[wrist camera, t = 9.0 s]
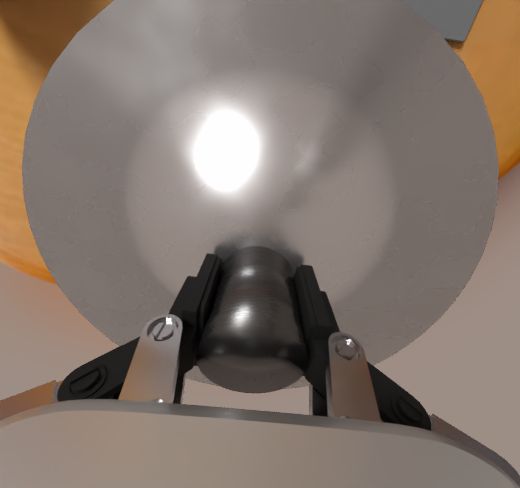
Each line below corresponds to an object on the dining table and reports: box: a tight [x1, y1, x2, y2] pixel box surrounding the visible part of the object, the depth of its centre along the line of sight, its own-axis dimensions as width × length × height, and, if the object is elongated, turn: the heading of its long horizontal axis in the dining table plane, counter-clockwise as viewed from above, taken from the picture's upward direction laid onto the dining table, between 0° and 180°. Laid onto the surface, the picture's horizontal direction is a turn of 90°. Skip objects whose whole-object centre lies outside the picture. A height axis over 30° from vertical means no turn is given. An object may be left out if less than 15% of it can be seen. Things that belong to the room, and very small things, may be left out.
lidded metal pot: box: [22, 0, 499, 393], centre depth 13 cm, size 24×24×13 cm
